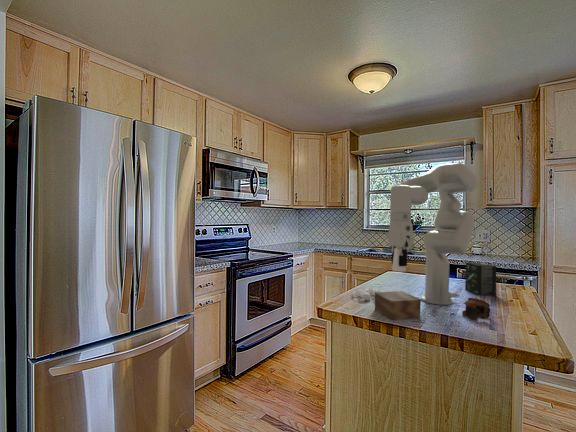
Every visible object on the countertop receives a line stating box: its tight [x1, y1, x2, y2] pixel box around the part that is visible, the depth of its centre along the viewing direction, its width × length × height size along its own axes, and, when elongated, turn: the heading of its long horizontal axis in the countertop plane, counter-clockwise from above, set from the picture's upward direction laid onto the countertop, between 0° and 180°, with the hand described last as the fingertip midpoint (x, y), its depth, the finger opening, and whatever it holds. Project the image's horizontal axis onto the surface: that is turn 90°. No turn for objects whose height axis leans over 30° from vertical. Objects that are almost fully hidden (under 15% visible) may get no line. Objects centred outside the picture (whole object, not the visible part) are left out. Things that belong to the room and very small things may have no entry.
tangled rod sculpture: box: [352, 287, 381, 301], centre depth 144 cm, size 19×14×4 cm
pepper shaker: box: [391, 247, 407, 273], centre depth 119 cm, size 5×5×11 cm
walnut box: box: [374, 290, 422, 321], centre depth 119 cm, size 12×12×7 cm
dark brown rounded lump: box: [461, 297, 491, 321], centre depth 116 cm, size 12×10×8 cm
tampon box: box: [464, 261, 497, 296], centre depth 155 cm, size 11×9×15 cm
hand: (399, 264), depth 119 cm, fingers closed on pepper shaker, 3 cm apart
